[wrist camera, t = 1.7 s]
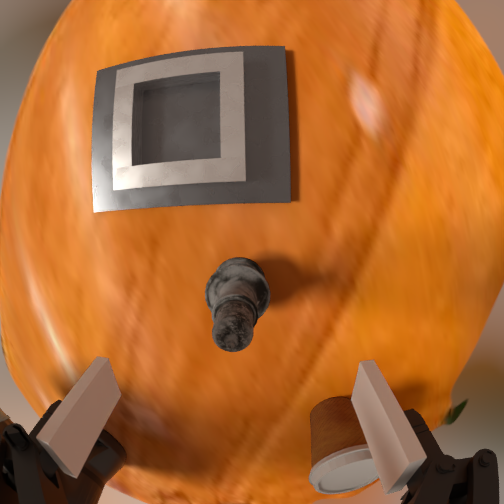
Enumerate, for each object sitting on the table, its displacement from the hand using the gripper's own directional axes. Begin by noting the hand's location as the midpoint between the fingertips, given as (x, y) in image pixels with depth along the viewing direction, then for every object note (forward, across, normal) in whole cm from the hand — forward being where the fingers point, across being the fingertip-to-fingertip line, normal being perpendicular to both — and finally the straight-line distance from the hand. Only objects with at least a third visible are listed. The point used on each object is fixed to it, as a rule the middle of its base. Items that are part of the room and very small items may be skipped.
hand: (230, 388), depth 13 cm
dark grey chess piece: (+16, 0, 0) cm, 16 cm away
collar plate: (+16, +5, -16) cm, 23 cm away
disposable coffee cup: (+16, -12, +20) cm, 28 cm away
